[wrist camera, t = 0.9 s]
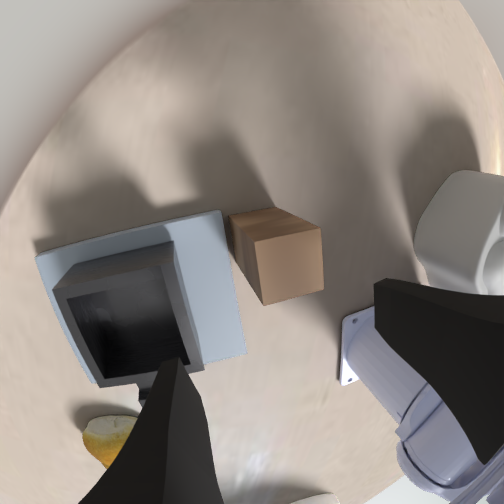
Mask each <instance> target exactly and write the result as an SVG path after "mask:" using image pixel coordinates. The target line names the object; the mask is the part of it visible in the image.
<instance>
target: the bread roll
mask: <svg viewBox="0 0 504 504" xmlns="http://www.w3.org/2000/svg"><path fill="white" fill-rule="evenodd" d="M136 420H137V418H136V417H132V416H125V415H120V416H114V415H109V416H102V417H97V418H94V419H92V420H91V421H90V422H89V423H88V425H87V427H86V429H85V430H84V432H83V442H84V445H85V447H86V449H87V450H88V451H89V453H91V454H92V455H93V456H94V457H95V458H96V459H98V460H99V461H100V462H101V463H102V464H103V465H104V467H105V468H106V469H108V468H109V466H110V465H111V464H112V462H113V461H114V459H115V458H116V456H117V455H118V453H119V451H120V450H121V448H122V447H123V445H124V443H125V442H126V440H127V438H128V436H129V434H130V432H131V430H132V428H133V426H134V424H135V422H136Z"/></svg>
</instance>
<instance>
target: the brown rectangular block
mask: <svg viewBox="0 0 504 504" xmlns="http://www.w3.org/2000/svg"><path fill="white" fill-rule="evenodd" d="M228 217H229V223H230V229H231V235H232V241H233V247H234V253H235V259H236V263H237V264H238V266H239V268H240V269H241V271H242V272H243V274H244V276H245V277H246V279H247V281H248V282H249V284H250V285H251V287H252V288H253V290H254V292H255V293H256V295H257V296H258V298H259V300H260V301H261V303H262V304H263V306H266V305H270V304H273V303H277V302H281V301H285V300H288V299H292V298H295V297H299V296H303V295H306V294H310V293H313V292H317V291H320V290H323V289H324V278H323V257H322V240H321V228H320V227H318V226H315V225H313V224H311V223H309V222H307V221H305V220H303V219H301V218H298V217H296V216H294V215H292V214H290V213H288V212H286V211H283V210H281V209H279V208H277V207H272V208H267V209H261V210H256V211H251V212H246V213H240V214H235V215H230V216H228Z"/></svg>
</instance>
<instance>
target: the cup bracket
mask: <svg viewBox="0 0 504 504" xmlns="http://www.w3.org/2000/svg"><path fill="white" fill-rule="evenodd" d="M52 291H53V294H54V297H55V299H56V302H57V304H58V306H59V309H60V311H61V314H62V316H63V318H64V320H65V323H66V325H67V327H68V329H69V331H70V333H71V335H72V338H73V340H74V342H75V344H76V346H77V348H78V350H79V352H80V354H81V355H82V357H83V359H84V361H85V363H86V365H87V367H88V368H89V370H90V372H91V374H92V375H93V377H94V379H95V381H96V382H97V384H98V386H99V387H100V388H104V387H112V386H120V385H127V384H134V383H136V384H137V386H138V388H139V400H138V401H139V402H140V404H141V406H142V408H143V405H144V403H145V401H146V399H147V396H148V394H149V392H150V389H151V387H152V384H153V382H154V380H155V377H156V375H157V372H158V370H159V367H160V365H161V363H162V362H163V361H167V360H170V359H174V358H177V357H179V358H180V360H181V362H182V363H183V365H184V367H185V369H186V371H187V373H188V374H189V373H194V372H199V371H203V370H205V369H204V364H203V358H202V353H201V348H200V342H199V337H198V332H197V329H196V325H195V322H194V318H193V315H192V311H191V307H190V304H189V300H188V296H187V292H186V288H185V285H184V281H183V277H182V273H181V269H180V264H179V260H178V256H177V252H176V247H175V243H174V240H173V241H168V242H164V243H159V244H155V245H151V246H146V247H142V248H138V249H133V250H129V251H125V252H121V253H116V254H112V255H108V256H104V257H100V258H96V259H92V260H88V261H84V262H80V263H76V264H73V265H72V267H71V268H70V269H69V270H68V271H67V272H66V273H65V275H64V276H63V277H62V278H61V279H60V280H59V282H58V283H57V284H56V285H55V286H54V288H53V289H52Z"/></svg>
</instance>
